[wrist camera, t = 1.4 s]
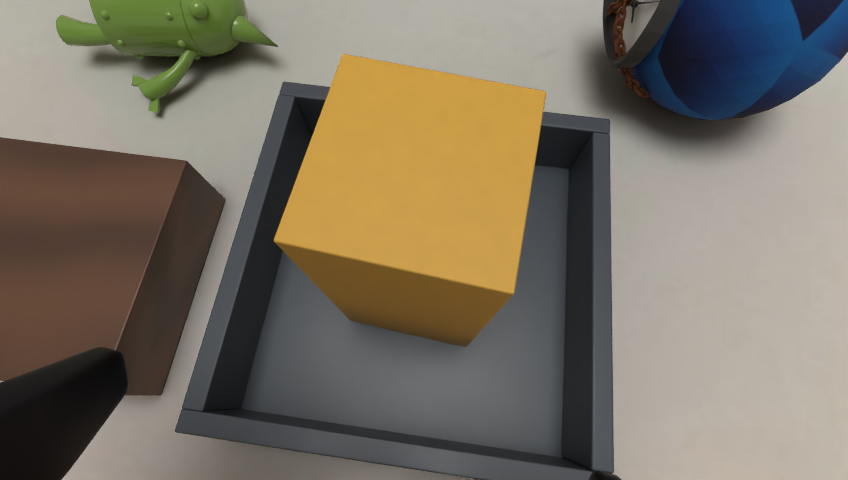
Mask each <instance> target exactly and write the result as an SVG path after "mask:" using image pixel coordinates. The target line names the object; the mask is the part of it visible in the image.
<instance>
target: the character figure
mask: <svg viewBox="0 0 848 480" xmlns="http://www.w3.org/2000/svg"><path fill="white" fill-rule="evenodd" d="M89 1H90V5H91V9H92V12H93V15H94V17H95V19H96V22H97V24H92V23H87V22H82V21H79V20H76V19H73V18H70V17H67V16H64V15H61V16H59V17H58V18H57V21H56V27H57V31H58V34H59V36H60V38H61V39H62V40H63V41H64V42H65V43H66V44H68V45H74V46H99V45H109V44H112V45H113V46H114V47H115V48H116V49H117V50H118V51H120V52H121V53H123V54H125V55H128V56H135V57H136V58H138V59H143V58H144V56H176V57H180V58H179V59H178V61H177V62H176V63H175V64H174V65H173V66H172V67H171V68H170V69H168V70H167V71H165V72H163V73H161V74H160V75H158V76H156V77H153V78H151V79H149V80H147V79H144V78H141V77H138V76H135V75H133V80H132V85H133V86H138V87H139V89H140V90H141V92H142V93H143V94H144V95H145V96H146V97H147V98H148V99H150V100H151V103H150V106H149V109H148V110H149V111H152V112H156V113H159V108H160V98H162V97H163V96H165V95H167V94H168V93H169V92H170V91H171V90H172V89H173V88H174V87H175V86H176V85H177V84H178V83H179V81H180V80H181V79H182V77H183V76H184V75H185V73H186V72H187V70H188V69H189V67H190V66H191V64H192V62H193V60H194V59H196V60H198V59H200V58H201V57H212V56H215V55H220V54H224V53H227V52H229V51H231V50H232V49H234V48H235V47H236V46H237V45H238V44H239V43H240V42H248V43H255V44H262V45H269V46H276V47H278V46H277V45H276V44H275V43H274V42H272V41H271V40H270V39H269V38H268V37H267V36H266V35H264V34H263V33H262V32H261V31H260V30H259V29H257V28H256V27H255V26H254V25H253V24H252V23H251V22H249V21H248V17H247V9H246V5H245V2H244V0H89Z"/></svg>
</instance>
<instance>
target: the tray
mask: <svg viewBox="0 0 848 480" xmlns="http://www.w3.org/2000/svg"><path fill="white" fill-rule="evenodd" d="M329 90H330V87H325V86H316V85H308V84H299V83H291V82H283V84H282V87H281V90H280V95H279V96H278V99H277V102H276V105H275V109H274V112H273V115H272V118H271V122H270V125H269V128H268V131H267V134H266V138H265V141H264V144H263V147H262V151H261V154H260V157H259V160H258V164H257V167H256V170H255V173H254V176H253V180H252V183H251V186H250V189H249V193H248V196H247V199H246V202H245V206H244V209H243V212H242V215H241V219H240V222H239V225H238V228H237V231H236V235H235V238H234V241H233V244H232V248H231V251H230V254H229V257H228V261H227V264H226V267H225V270H224V274H223V277H222V280H221V283H220V286H219V290H218V293H217V296H216V299H215V303H214V306H213V309H212V312H211V316H210V319H209V322H208V325H207V328H206V332H205V335H204V338H203V341H202V345H201V348H200V351H199V354H198V358H197V361H196V364H195V367H194V371H193V374H192V377H191V380H190V383H189V387H188V390H187V393H186V396H185V400H184V403H183V406H182V408H183V409H182V410H181V413H180V416H179V419H178V423H177V426H176V429H175V432H177V433H183V434H190V435H196V436H203V437H209V438H216V439H222V440H229V441H235V442H241V443H248V444H254V445H261V446H267V447H274V448H280V449H287V450H293V451H299V452H306V453H312V454H319V455H325V456H332V457H338V458H345V459H351V460H357V461H364V462H370V463H377V464H383V465H390V466H396V467H403V468H409V469H415V470H422V471H428V472H435V473H441V474H448V475H454V476H461V477H467V478H473V479H480V480H588V479H589V477H590V475H591V474H592V472H594V471H602V472H606V473H610V474H612V473H613V472H614V447H613V364H612V282H611V200H610V135H609V133H610V120H609V119H602V118H593V117H584V116H576V115H567V114H558V113H550V112H543V117H542V123H541V129H540V135H539V142H538V148H537V154H536V161H535V167H534V173H533V179H532V186H531V192H530V198H529V205H528V211H527V217H526V223H525V230H524V236H523V242H522V249H521V255H520V261H519V267H518V274H517V280H516V286H515V293H514V295H513V296H512V297H511V298H510V299H509V300H508V301H507V302H506V303H505V305H504V306H503V307H502V308H501V309H500V310H499V311H498V312H497V314H496V315H495V316H494V317H493V318H492V319H491V320H490V321H489V322H488V324H487V325H486V326H485V327H484V328H483V329H482V330H481V331H480V333H479V334H478V335H477V336H476V337H475V338H474V339H473V340H472V341H471V343H470V344H469V345H468V346H467V347H462V346H458V345H453V344H449V343H445V342H440V341H436V340H432V339H427V338H423V337H419V336H415V335H410V334H406V333H402V332H397V331H393V330H389V329H385V328H380V327H376V326H372V325H367V324H363V323H359V322H354V321H350V320H349V319H348V318H347V317H346V316H345V315H344V314H343V312H342V311H341V310H340V309H339V308H338V307H337V306H336V305H335V304H334V303H333V302H332V301H331V300H330V299H329V298H328V297H327V296H326V295H325V294H324V293H323V292H322V291H321V290H320V289H319V288H318V287H317V286H316V285H315V284H314V282H313V281H312V280H311V279H310V278H309V277H308V276H307V275H306V274H305V273H304V272H303V271H302V270H301V269H300V268H299V267H298V266H297V265H296V264H295V263H294V262H293V261H292V260H291V259H290V258H289V257H288V256H287V255H286V253H285V252H284V251H283V250H282V249H281V248H280V247H279V246H278V245H277V244H276V243H275V242H274V238H275V235H276V232H277V230H278V227H279V224H280V221H281V219H282V216H283V213H284V211H285V208H286V205H287V203H288V200H289V197H290V195H291V192H292V189H293V186H294V184H295V181H296V178H297V176H298V173H299V170H300V168H301V165H302V162H303V160H304V157H305V154H306V152H307V149H308V146H309V143H310V141H311V138H312V135H313V133H314V130H315V127H316V125H317V122H318V119H319V117H320V114H321V111H322V108H323V106H324V103H325V100H326V98H327V95H328V92H329Z"/></svg>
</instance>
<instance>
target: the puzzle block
mask: <svg viewBox="0 0 848 480" xmlns="http://www.w3.org/2000/svg"><path fill="white" fill-rule="evenodd" d="M545 98H546V92H545V91H541V90H536V89H530V88H525V87H520V86H514V85H509V84H503V83H498V82H493V81H487V80H482V79H476V78H471V77H466V76H460V75H455V74H449V73H444V72H439V71H433V70H428V69H422V68H417V67H412V66H406V65H401V64H395V63H390V62H385V61H379V60H374V59H368V58H363V57H358V56H352V55H347V54H343V55H342V57H341V60H340V63H339V65H338V68H337V71H336V73H335V76H334V79H333V82H332V84H331V87H330V90H329V92H328V95H327V98H326V100H325V103H324V106H323V108H322V111H321V114H320V117H319V119H318V122H317V125H316V127H315V130H314V133H313V135H312V138H311V141H310V143H309V146H308V149H307V152H306V154H305V157H304V160H303V162H302V165H301V168H300V170H299V173H298V176H297V178H296V181H295V184H294V186H293V189H292V192H291V195H290V197H289V200H288V203H287V205H286V208H285V211H284V213H283V216H282V219H281V221H280V224H279V227H278V230H277V232H276V235H275V238H274V242H275V243H276V244H277V245H278V246H279V247H280V248H281V249H282V250H283V251H284V252H285V253H286V255H287V256H288V257H289V258H290V259H291V260H292V261H293V262H294V263H295V264H296V265H297V266H298V267H299V268H300V269H301V270H302V271H303V272H304V273H305V274H306V275H307V276H308V277H309V278H310V279H311V280H312V281H313V282H314V284H315V285H316V286H317V287H318V288H319V289H320V290H321V291H322V292H323V293H324V294H325V295H326V296H327V297H328V298H329V299H330V300H331V301H332V302H333V303H334V304H335V305H336V306H337V307H338V308H339V309H340V310H341V311H342V312H343V314H344V315H345V316H346V317H347V318H348V319H349V320H350V321H354V322H359V323H363V324H367V325H372V326H376V327H380V328H385V329H389V330H393V331H397V332H402V333H406V334H410V335H415V336H419V337H423V338H427V339H432V340H436V341H440V342H445V343H449V344H453V345H458V346H462V347H467V346H468V345H469V344H470V343H471V341H472V340H473V339H474V338H475V337H476V336H477V335H478V334H479V333H480V331H481V330H482V329H483V328H484V327H485V326H486V325H487V324H488V322H489V321H490V320H491V319H492V318H493V317H494V316H495V315H496V314H497V312H498V311H499V310H500V309H501V308H502V307H503V306H504V305H505V303H506V302H507V301H508V300H509V299H510V298H511V297H512V296H513V295H514V293H515V286H516V280H517V274H518V267H519V261H520V255H521V249H522V242H523V236H524V230H525V223H526V217H527V211H528V205H529V198H530V192H531V186H532V179H533V173H534V167H535V161H536V154H537V148H538V142H539V135H540V129H541V123H542V117H543V110H544V104H545Z"/></svg>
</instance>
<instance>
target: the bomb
mask: <svg viewBox="0 0 848 480" xmlns="http://www.w3.org/2000/svg"><path fill="white" fill-rule="evenodd" d="M603 31H604V41H605V48H606V53H607V57H608V60H609V62H610V64H611V66H612V67H613V68H620V70H621V73H622V75H623V76H624V77H626V78H627V82H626V84H627V86H628V87H629V88H630V89H632V90H635V92H636V93H637V94H638V95H639V96H640V97H642V98H648V97H649V96H650V97H651V98H652V99H653V100H654V101H656V102H657V103H658V104H659V105H660V106H662V107H665V108H667V109H669V110H671V111H674V112H676V113H678V114H682V115H686V116H689V117H693V118H697V119H710V120H723V119H733V118H742V117H745V116H749V115H752V114H756V113H759V112H763V111H766V110H769V109H771V108H773V107H776V106H778V105H780V104H782V103H784V102H786V101H789V100H791V99H793V98H794V97H796V96H797V95H799V94H800V93H802V92H803V91H805V90H806V89H808V88H810V87H811V86H813V85H814V84H816V83H817V82H819V81H820V80H821V79H822V78H823V77H824V76H825V75H826V74H827V73H828V72H829V71H830V70H831V69H832V68H833V67H834V66H835V65H836V64H838V63H839V62H840V61H841V60H842V58H843V57H844V56H845V54H846V53H847V52H848V0H604V5H603ZM624 70H626V71H625V72H624ZM627 70H629V73H628V71H627ZM631 75H633V77H634V78H630V76H631ZM631 81H632V82H635V83H634V84H633V86H631V85H632V83H631ZM643 93H645V94H646V95H643Z"/></svg>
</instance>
